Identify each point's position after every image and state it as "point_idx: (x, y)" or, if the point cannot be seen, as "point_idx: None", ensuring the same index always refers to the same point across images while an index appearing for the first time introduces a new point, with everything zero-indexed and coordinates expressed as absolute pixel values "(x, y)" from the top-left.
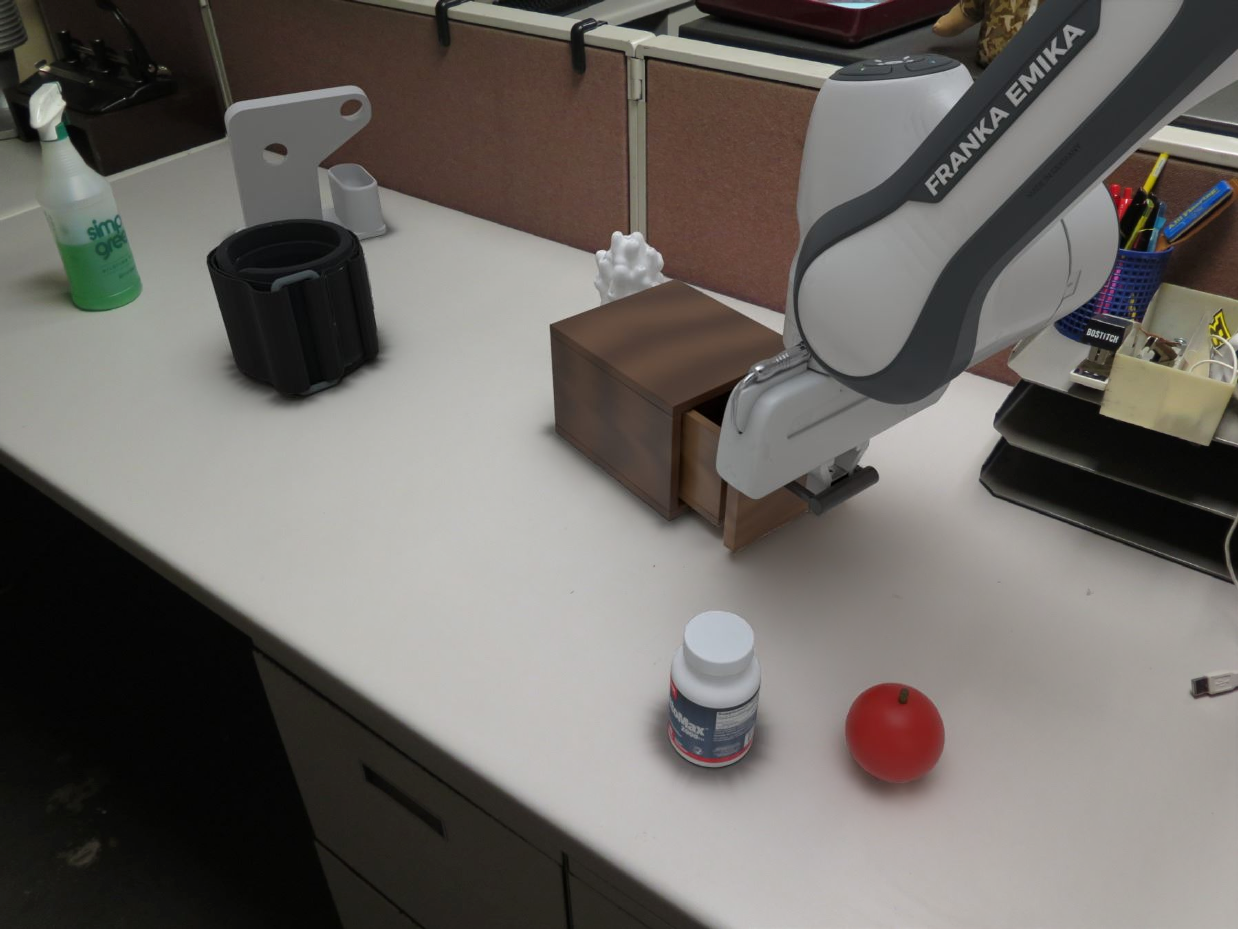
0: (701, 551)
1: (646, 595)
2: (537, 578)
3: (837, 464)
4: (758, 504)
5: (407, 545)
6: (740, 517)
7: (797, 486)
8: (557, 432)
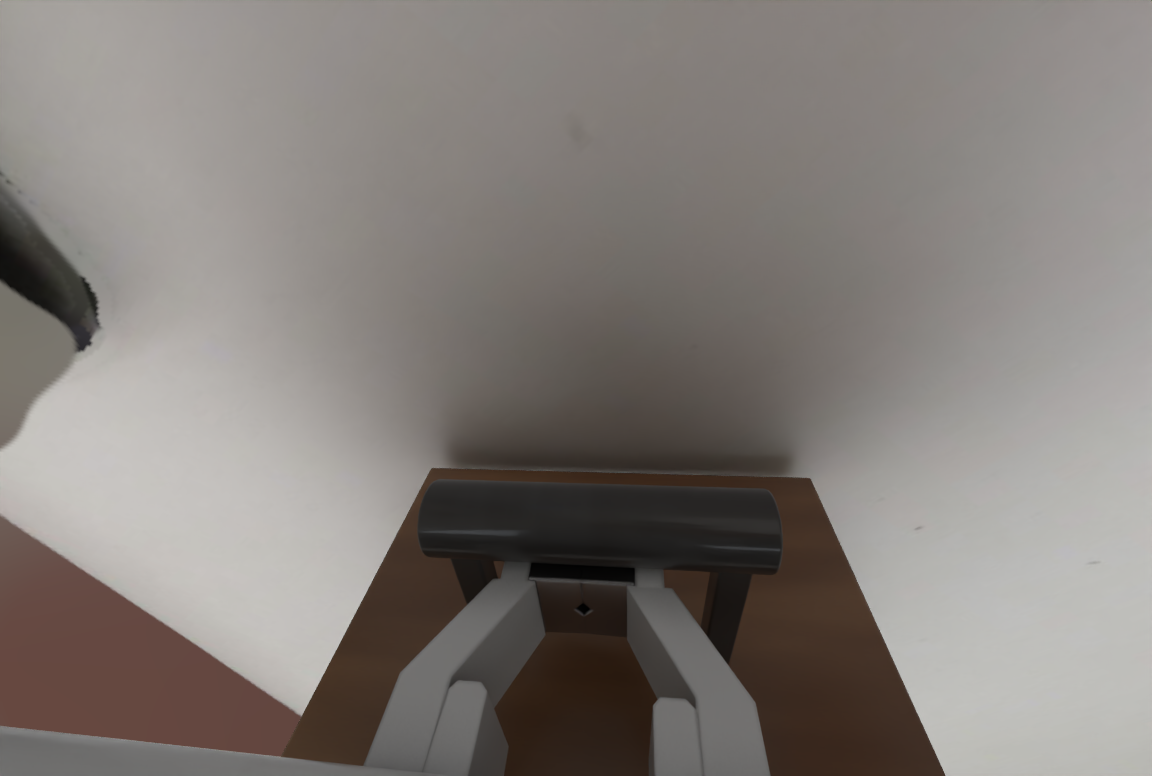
0: None
1: (1019, 490)
2: (1087, 606)
3: (538, 615)
4: (767, 577)
5: (1113, 716)
6: (838, 570)
7: (731, 613)
8: None
